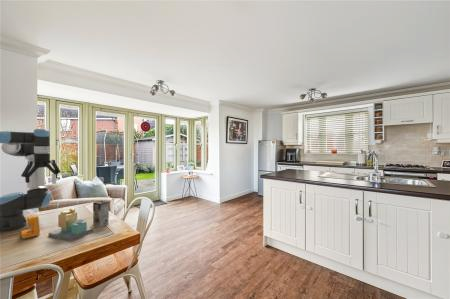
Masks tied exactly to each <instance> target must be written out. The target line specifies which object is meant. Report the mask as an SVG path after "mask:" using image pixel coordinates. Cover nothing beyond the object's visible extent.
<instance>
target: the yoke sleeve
mask: <svg viewBox="0 0 450 299" xmlns="http://www.w3.org/2000/svg"><path fill="white" fill-rule="evenodd" d="M57 217H58V218H57V219H58V220H57V221H58V222H57V223H58V225H57V226H58V227H59V228H61V227H62V228H68V227H71V224H73V222H75V221H77V220H78V211H77V212H76V208H70V209H69V210H68V211H65V210H62V211H60V213H59V214H57Z"/></svg>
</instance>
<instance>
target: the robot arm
mask: <svg viewBox="0 0 450 299" xmlns="http://www.w3.org/2000/svg"><path fill="white" fill-rule="evenodd" d="M50 132H51V131H50V129H42V128H35V129H34V130H33V132H29V131H28V132H27V131H26V132H25V131H8V130H7V131H5V130H4V131H0V144H2V145H1V150H2V152H4V153H5V154H7V155H8V156H13V157H24V158H25V160H27V165H26V166H25V168H24V170H23V171H22V173H21V175H20V176H21V177H22V178H24V179H25V180H24V181H25V183H26V187H27V189H28V190H27V191H26V193H23V192H22V191H19V192H13V193H8V194H4V195H1V196H0V232H10V231H13V230H18V229H21V228H23V227H25V226H28V223H27V219H26V217H25V215H24V211H28V210H35V209H39V208H45V207H48V206H49V205H50V203H51V197H52V193H51V190H49V189H48V187H46V183H45V168H47V169H48V170H49V171H50V172H52V174H51V184H52V185H57V179H58V175H59V174H60V173H61V169H60V168H59V167H58V165H57V163H56V160H55V159H50V158H51V154H50V150H51V149H50V148H51V146H50V136H51V133H50Z"/></svg>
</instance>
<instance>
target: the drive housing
mask: <svg viewBox="0 0 450 299" xmlns="http://www.w3.org/2000/svg"><path fill="white" fill-rule="evenodd" d="M87 222H88V221H85V219H84V217H83V218H82V217H81V218H80V219H77V221H75V222H73V224H71V227H68V228H62V227H60V228H58V229H56V230H53V231H51V232H48V237H50V238H56V239H60V240H65V241H70V242H71V241H72V242H73V241H74V240H76V239H79V238H81V237H84V236H85V235H88V234H90V233H92V232H93V231H94V228H93V227H88V225H87Z"/></svg>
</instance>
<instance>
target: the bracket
mask: <svg viewBox="0 0 450 299" xmlns="http://www.w3.org/2000/svg"><path fill="white" fill-rule="evenodd" d="M26 221H27V227H29V226H31V228H28V229H24V230H21V238H22V239H28V238H33V237H36V236H40V235H41V234H40V221H39V215H38V214H37V215H32V216H27V219H26Z"/></svg>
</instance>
